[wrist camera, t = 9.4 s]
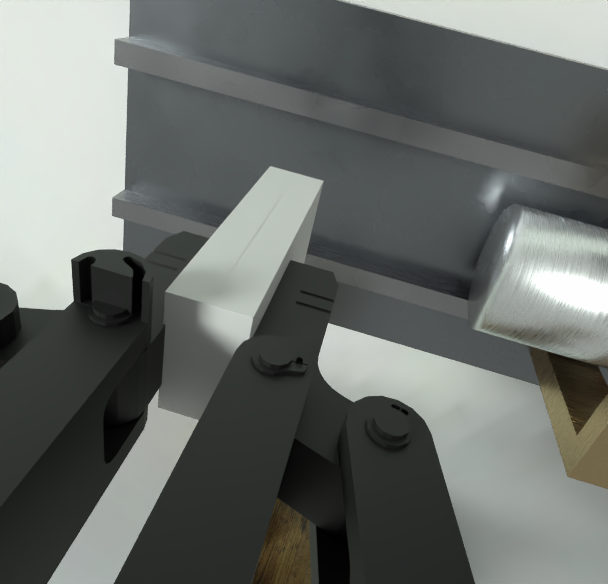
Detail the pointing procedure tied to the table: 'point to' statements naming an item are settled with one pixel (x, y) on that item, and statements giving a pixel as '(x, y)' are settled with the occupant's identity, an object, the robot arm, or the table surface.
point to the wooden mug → (285, 549)
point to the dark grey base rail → (361, 148)
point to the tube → (544, 284)
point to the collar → (576, 413)
